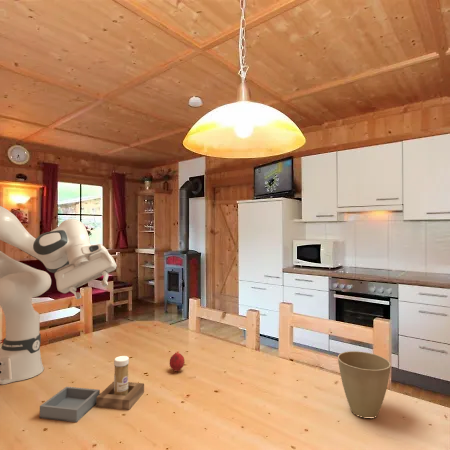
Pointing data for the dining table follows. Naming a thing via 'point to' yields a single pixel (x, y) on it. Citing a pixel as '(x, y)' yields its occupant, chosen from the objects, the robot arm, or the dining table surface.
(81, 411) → the tray
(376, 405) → the plant pot
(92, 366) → the dining table surface
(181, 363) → the onion
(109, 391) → the collar block
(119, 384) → the sprinkles bottle
